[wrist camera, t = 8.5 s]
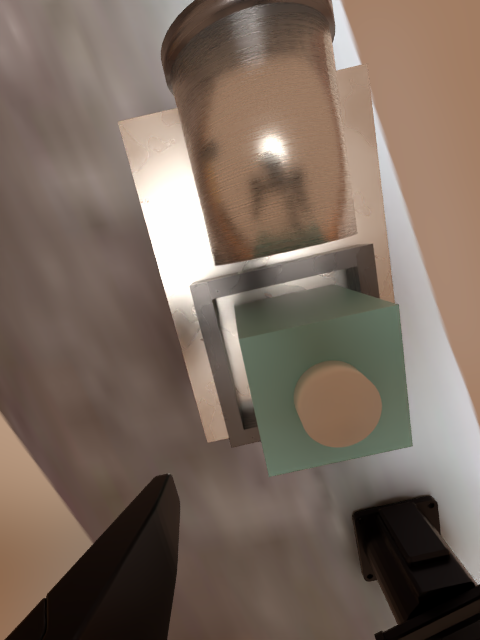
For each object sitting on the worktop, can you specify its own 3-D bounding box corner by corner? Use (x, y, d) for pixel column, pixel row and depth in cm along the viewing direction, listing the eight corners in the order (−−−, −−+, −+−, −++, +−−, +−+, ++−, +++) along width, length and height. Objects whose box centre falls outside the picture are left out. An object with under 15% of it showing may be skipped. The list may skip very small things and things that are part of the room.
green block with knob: (346, 376, 16) (431, 465, 10) (253, 396, 17) (273, 499, 10) (333, 284, 15) (418, 310, 9) (233, 305, 15) (240, 349, 9)
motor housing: (365, 365, 22) (492, 469, 11) (211, 399, 22) (198, 535, 11) (329, 109, 18) (465, -78, 8) (145, 152, 18) (39, 23, 8)
